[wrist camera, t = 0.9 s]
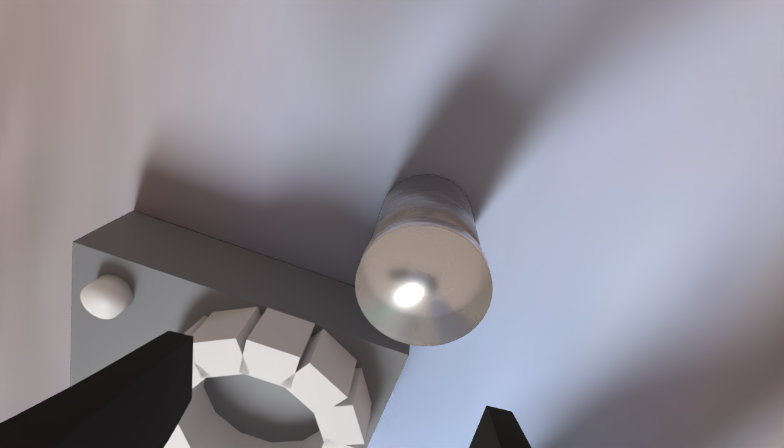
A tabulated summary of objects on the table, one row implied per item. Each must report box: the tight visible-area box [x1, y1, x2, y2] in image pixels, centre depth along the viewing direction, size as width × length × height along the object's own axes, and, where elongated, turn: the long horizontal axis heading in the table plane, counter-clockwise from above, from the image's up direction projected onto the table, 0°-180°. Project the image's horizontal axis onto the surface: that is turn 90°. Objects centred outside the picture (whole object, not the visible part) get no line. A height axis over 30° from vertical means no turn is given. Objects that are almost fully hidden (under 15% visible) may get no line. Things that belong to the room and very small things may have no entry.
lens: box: [355, 175, 493, 346], centre depth 15 cm, size 4×4×6 cm
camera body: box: [70, 211, 410, 448], centre depth 19 cm, size 14×9×6 cm, turn 71°
